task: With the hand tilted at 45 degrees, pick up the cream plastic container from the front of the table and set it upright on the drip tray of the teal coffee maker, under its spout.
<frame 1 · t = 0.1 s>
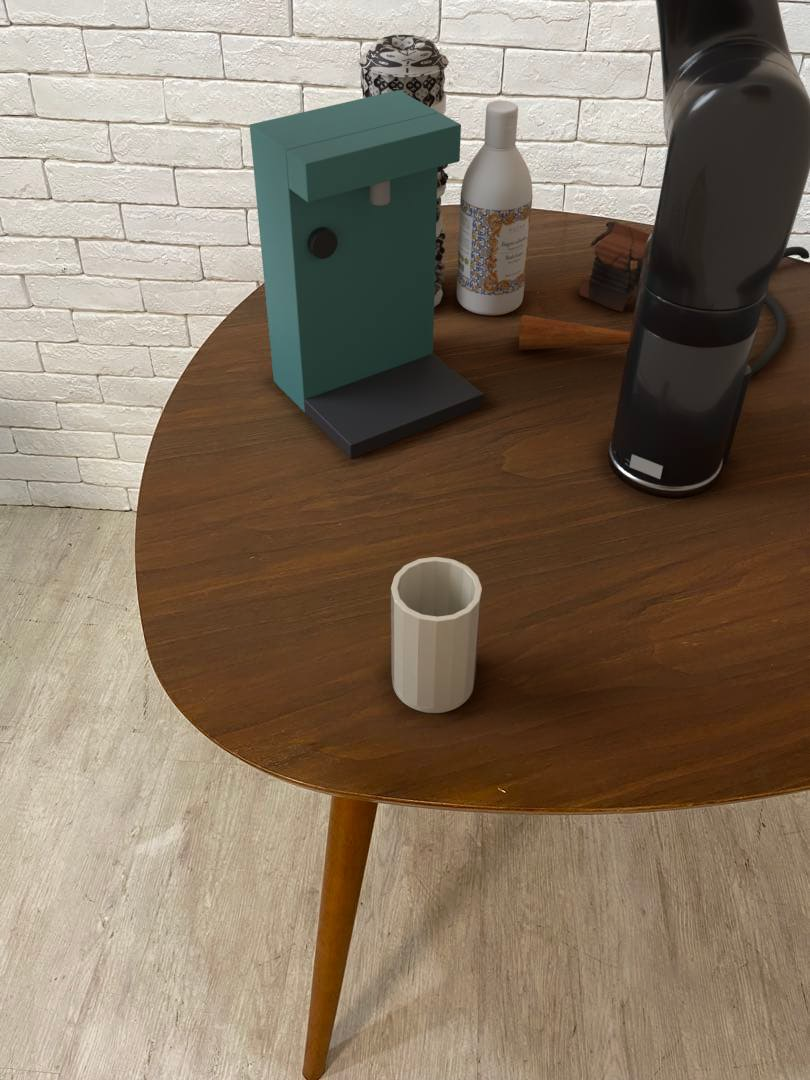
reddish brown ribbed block: (628, 296, 111), on the table
bath foam: (489, 302, 110), on the table
container: (433, 680, 72), on the table
patterned cylindrical canister: (401, 296, 110), on the table
wooden cone: (621, 361, 101), on the table
coffee maker: (370, 389, 97), on the table
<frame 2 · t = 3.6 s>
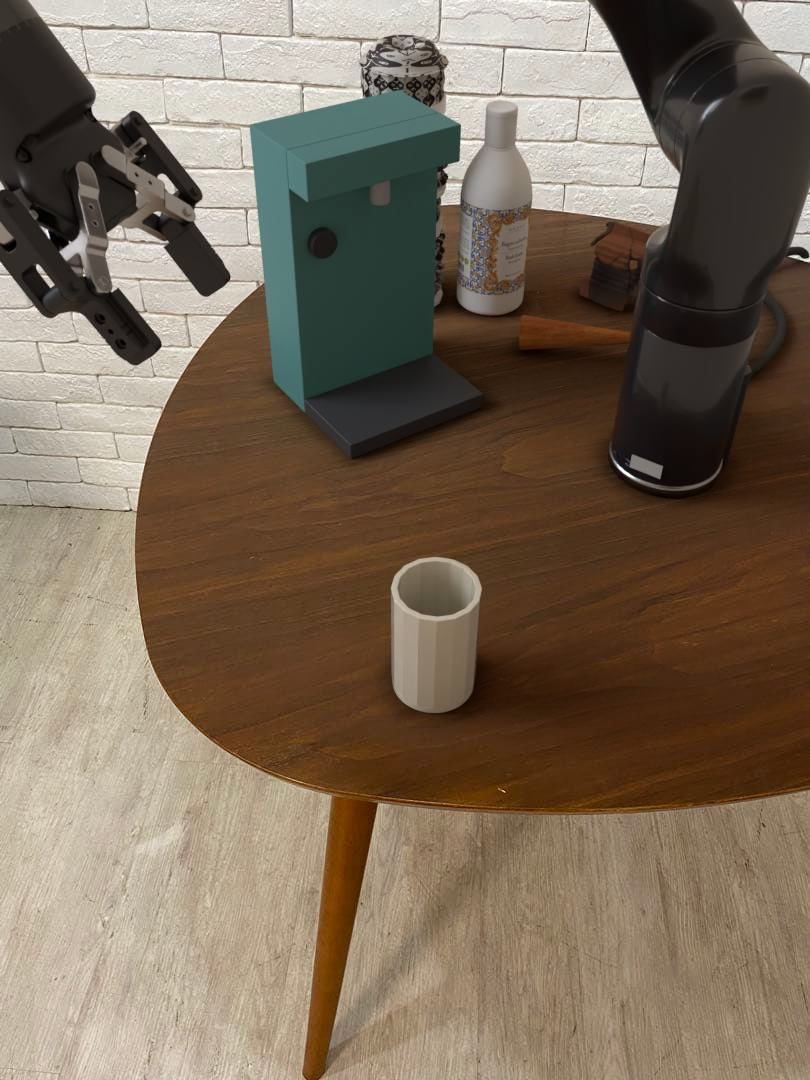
hand: (186, 321, 59), 25 cm above the table, tool tilted 40°, fingers open, 8 cm apart
nothing on the table moved.
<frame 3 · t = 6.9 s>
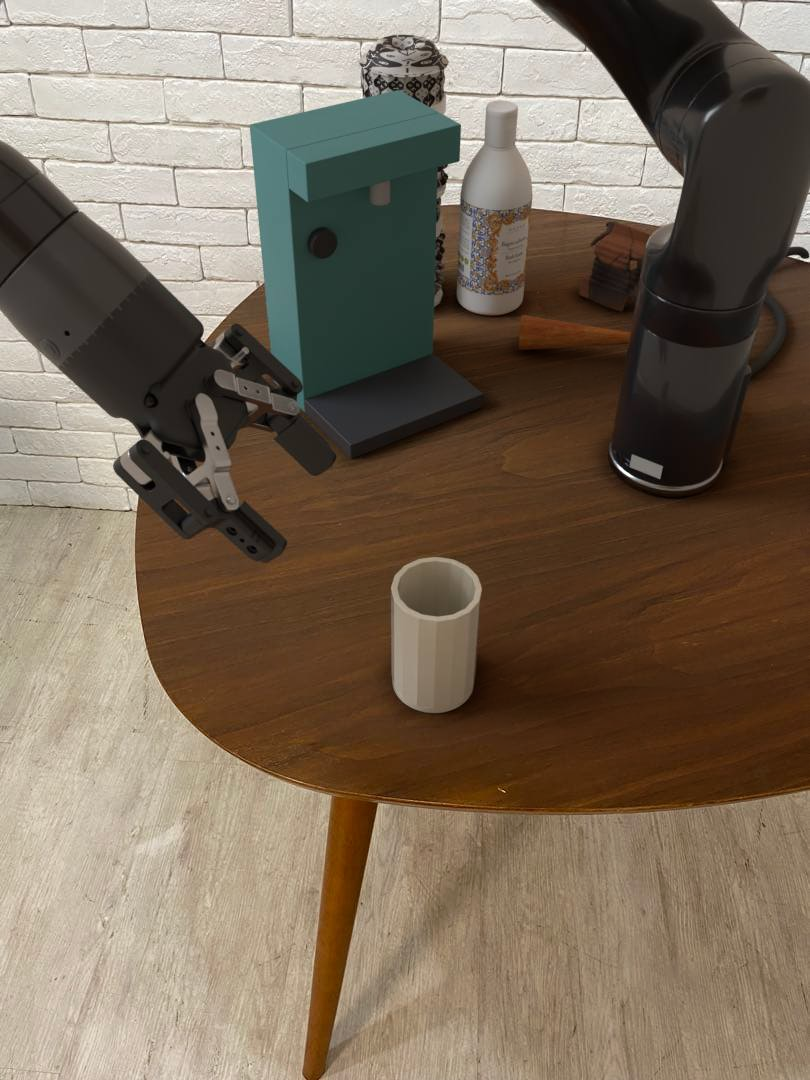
hand: (303, 508, 64), 13 cm above the table, tool tilted 45°, fingers open, 8 cm apart
nothing on the table moved.
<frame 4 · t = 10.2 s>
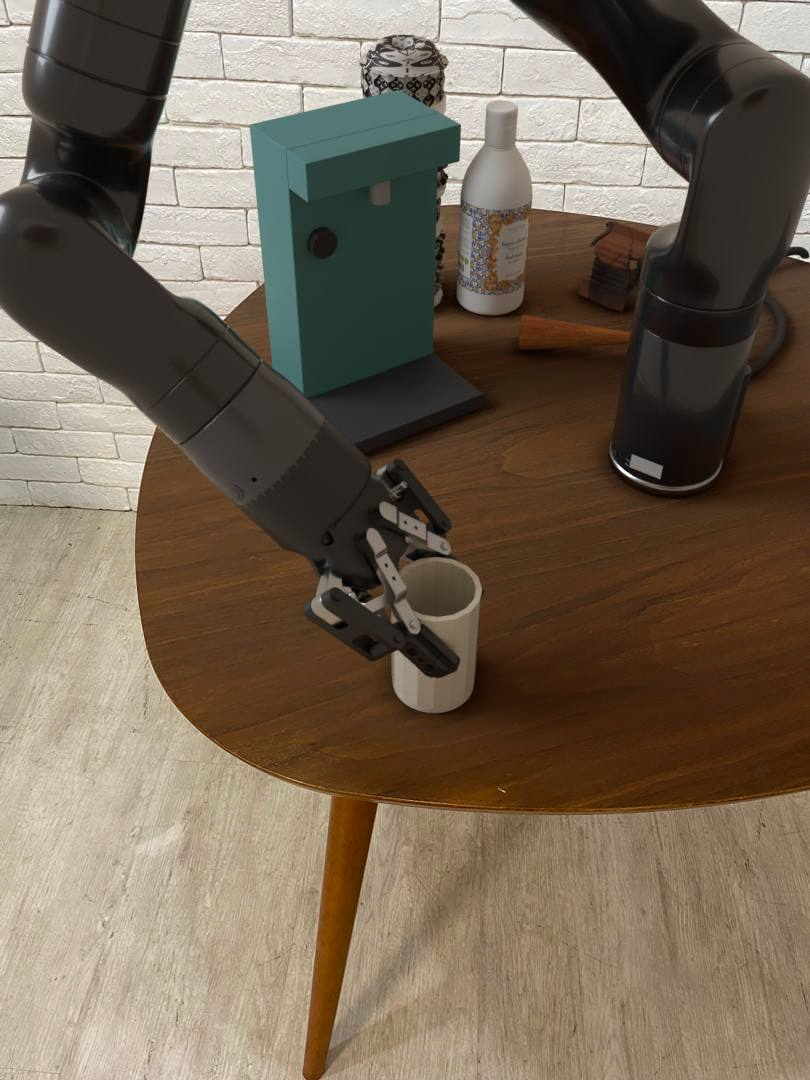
hand: (461, 634, 68), 5 cm above the table, tool tilted 45°, fingers closed on container, 5 cm apart
container: (433, 680, 72), on the table, touching gripper
everything else where it was.
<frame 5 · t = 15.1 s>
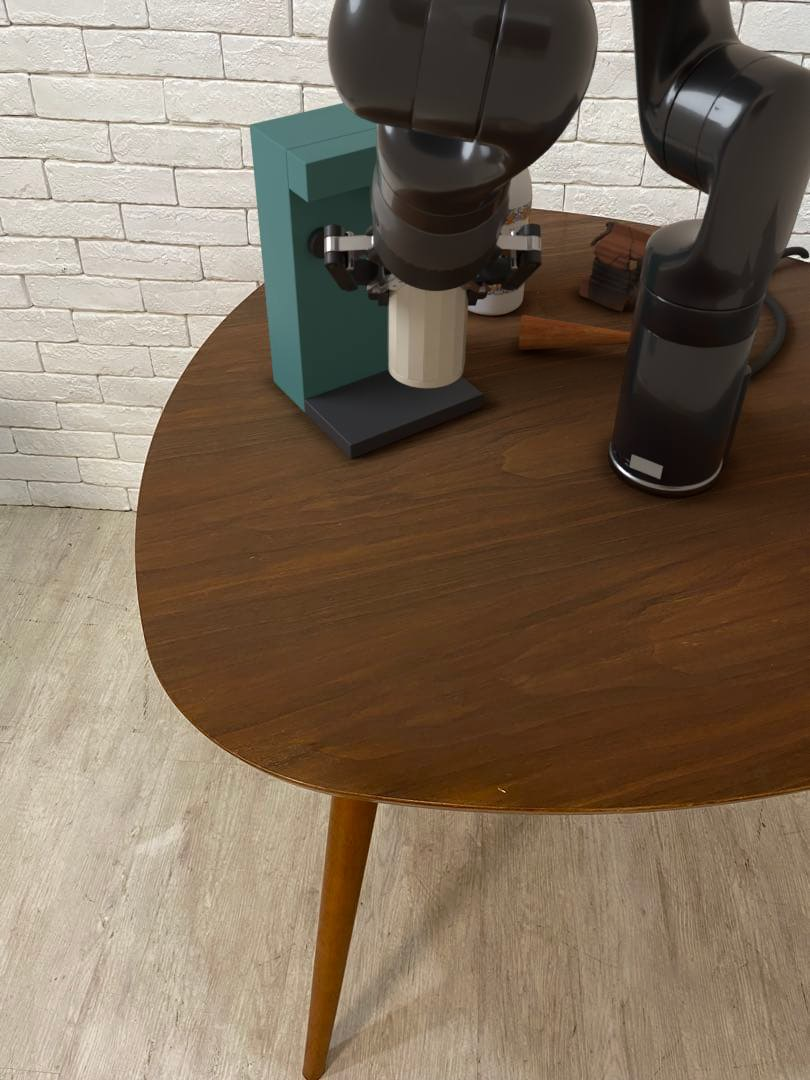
hand: (426, 292, 75), 18 cm above the table, tool tilted 45°, fingers closed on container, 5 cm apart
container: (426, 367, 78), point 12 cm above the table, touching gripper
everything else where it was.
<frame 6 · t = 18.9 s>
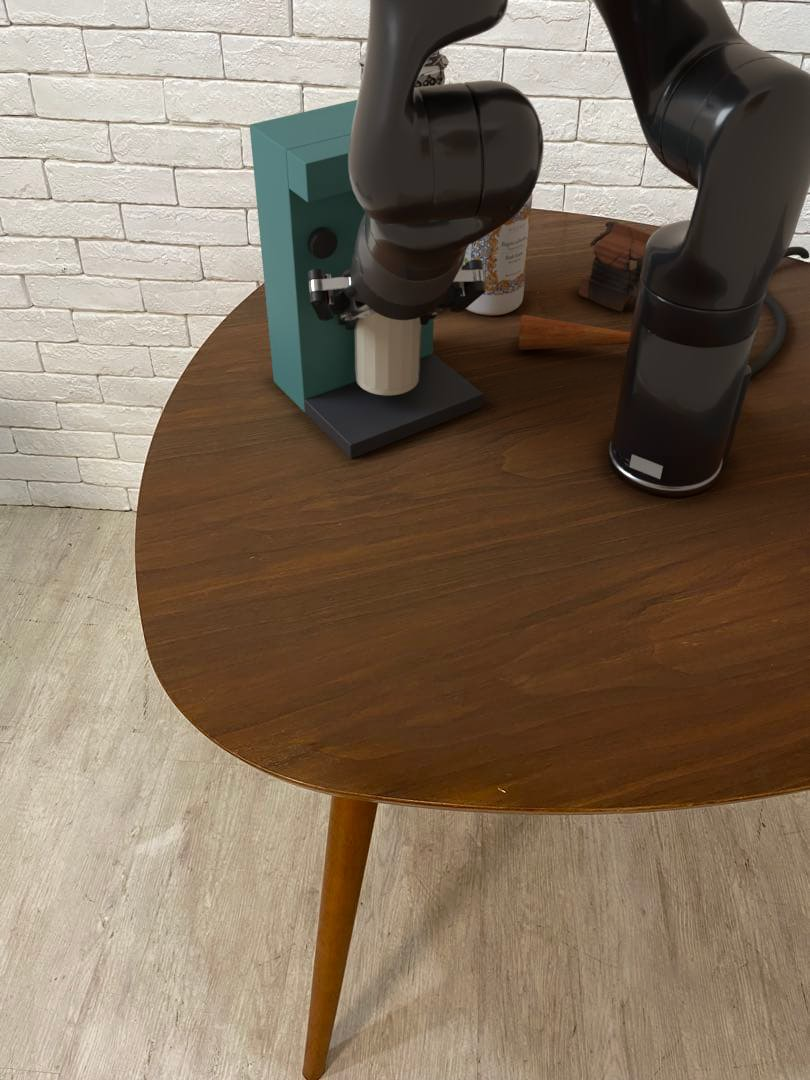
hand: (384, 315, 90), 9 cm above the table, tool tilted 45°, fingers closed on container, 5 cm apart
container: (387, 377, 93), point 3 cm above the table, touching gripper
everything else where it was.
when the fingers open (7 cm above the table, at t = 20.2 s): container stays where it is, resting on coffee maker.
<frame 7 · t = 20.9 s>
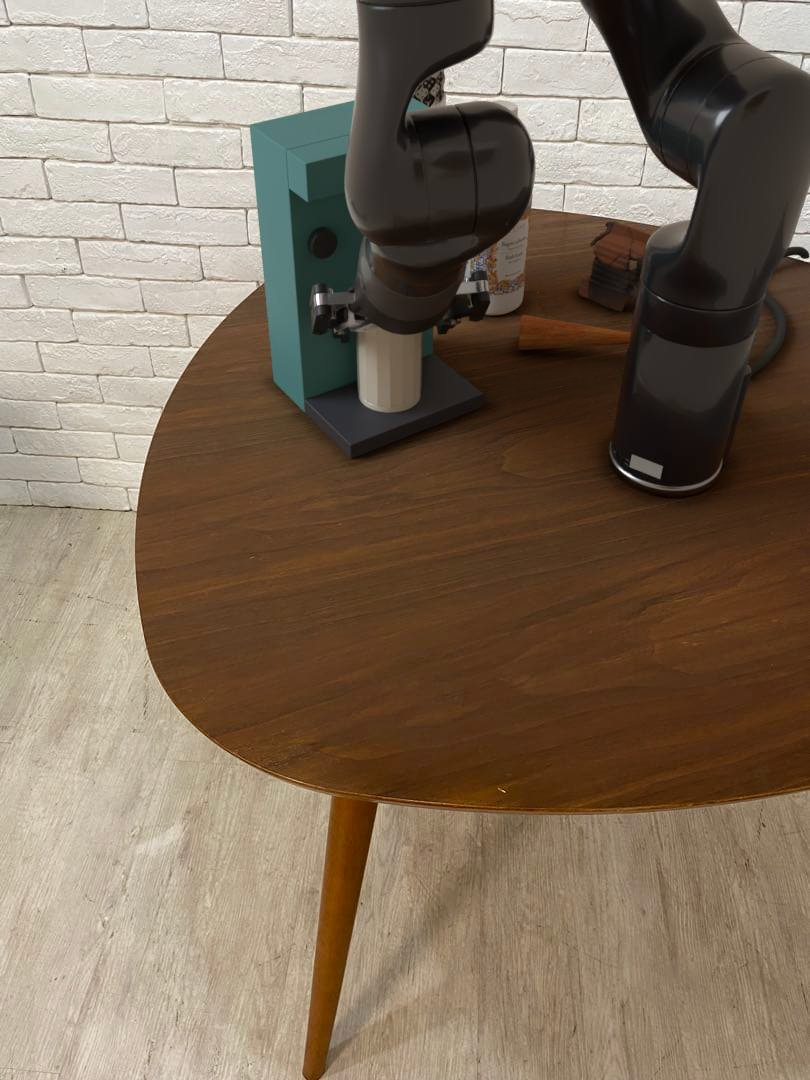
hand: (392, 327, 91), 8 cm above the table, tool tilted 45°, fingers open, 8 cm apart
container: (389, 394, 94), point 1 cm above the table, touching coffee maker
everything else where it was.
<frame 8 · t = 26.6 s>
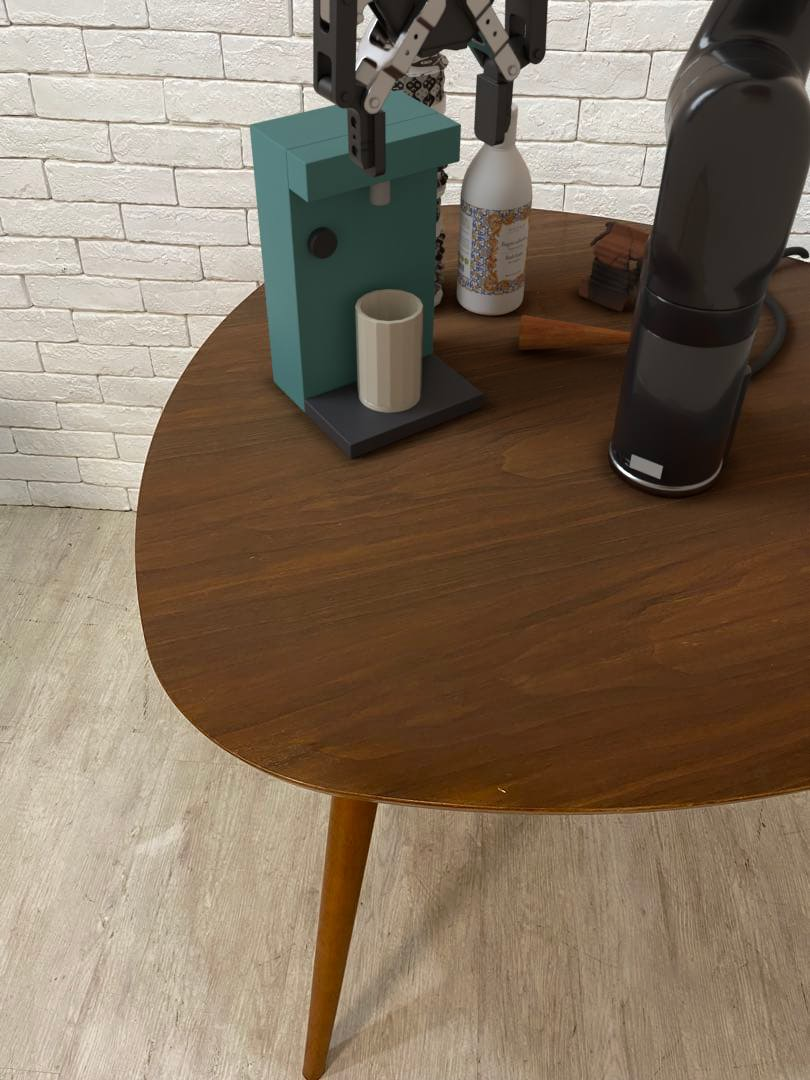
hand: (431, 156, 63), 30 cm above the table, tool pointing down, fingers open, 8 cm apart
nothing on the table moved.
at the end: container inside the target area on the coffee maker (0.3 cm from its centre), point 1.5 cm above the coffee maker's base; container tilted 0°; the gripper is holding nothing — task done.
